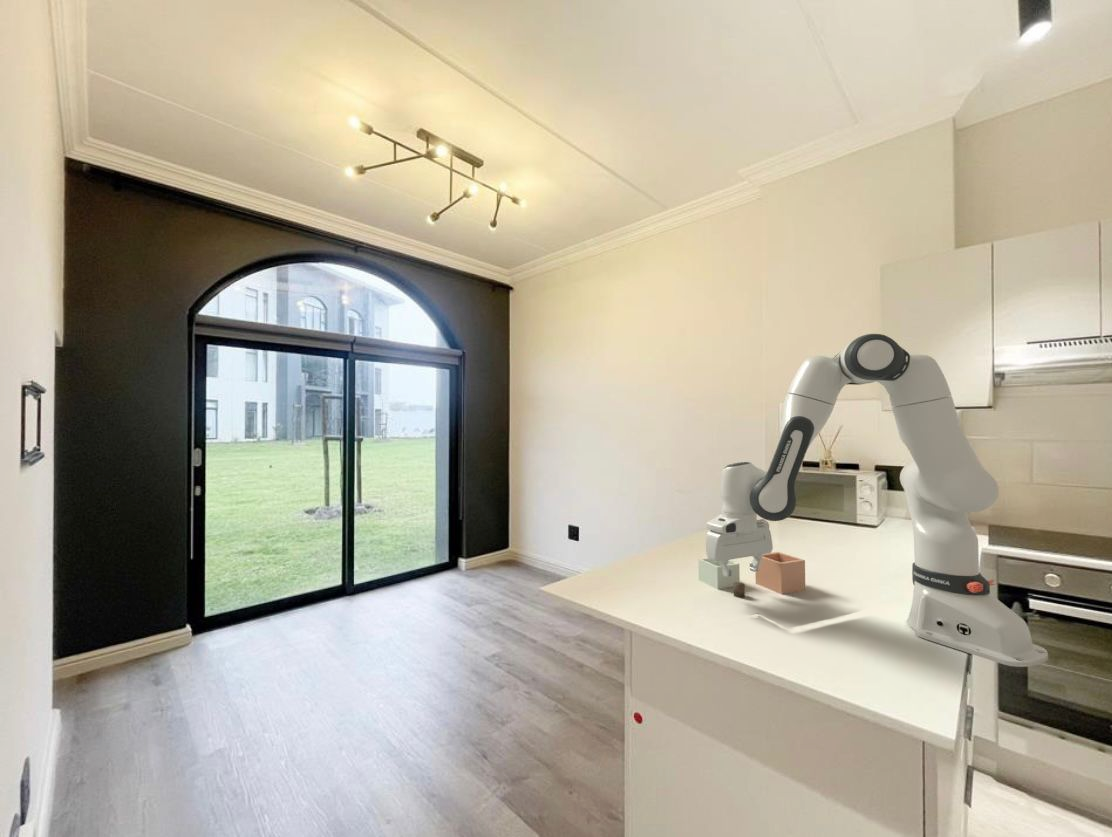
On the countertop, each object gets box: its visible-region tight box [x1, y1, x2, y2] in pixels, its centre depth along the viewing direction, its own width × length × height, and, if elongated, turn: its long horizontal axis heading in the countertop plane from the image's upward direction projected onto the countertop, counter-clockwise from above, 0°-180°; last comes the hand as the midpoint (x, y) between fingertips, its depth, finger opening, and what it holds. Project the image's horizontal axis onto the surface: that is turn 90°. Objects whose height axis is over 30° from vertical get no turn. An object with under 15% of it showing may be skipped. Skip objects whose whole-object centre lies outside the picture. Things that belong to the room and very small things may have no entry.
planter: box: [754, 551, 806, 595], centre depth 126 cm, size 9×9×9 cm
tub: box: [698, 557, 741, 590], centre depth 129 cm, size 8×8×7 cm
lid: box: [733, 581, 746, 599], centre depth 119 cm, size 9×9×4 cm
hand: (741, 573), depth 119 cm, fingers open, 8 cm apart
